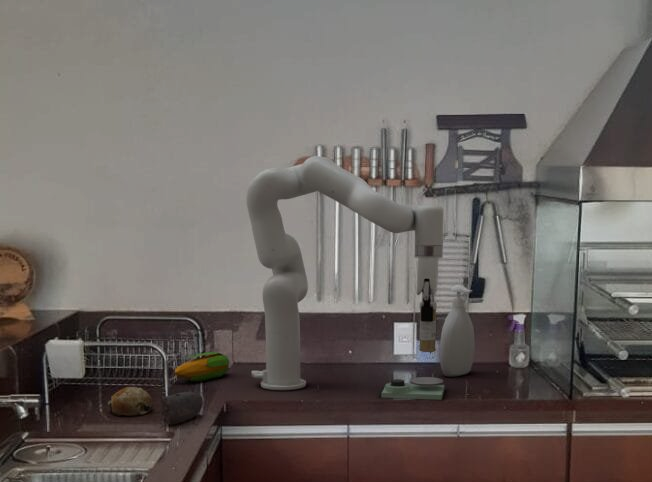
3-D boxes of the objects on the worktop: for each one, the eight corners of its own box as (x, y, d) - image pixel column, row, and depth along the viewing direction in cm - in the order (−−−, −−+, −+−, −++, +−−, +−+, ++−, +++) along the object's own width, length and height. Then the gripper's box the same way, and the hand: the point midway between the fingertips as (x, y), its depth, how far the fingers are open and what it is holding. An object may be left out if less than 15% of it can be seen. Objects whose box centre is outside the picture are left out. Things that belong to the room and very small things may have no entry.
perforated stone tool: (193, 412, 221) (193, 384, 220) (211, 414, 219) (210, 387, 218) (153, 426, 208) (152, 397, 207) (172, 429, 206) (171, 399, 205)
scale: (381, 398, 239) (381, 387, 238) (387, 388, 251) (387, 377, 250) (441, 400, 237) (441, 389, 236) (444, 390, 249) (444, 379, 248)
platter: (408, 385, 241) (408, 383, 240) (412, 378, 249) (412, 376, 249) (442, 386, 240) (442, 384, 239) (444, 379, 248) (444, 377, 248)
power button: (390, 387, 239) (390, 381, 239) (391, 384, 243) (391, 379, 243) (403, 387, 239) (403, 382, 239) (405, 385, 242) (405, 379, 242)
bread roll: (129, 432, 216) (139, 404, 214) (96, 410, 219) (107, 382, 217) (154, 422, 226) (164, 395, 223) (123, 401, 228) (133, 375, 226)
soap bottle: (453, 380, 261) (455, 288, 256) (432, 376, 267) (434, 285, 262) (484, 373, 272) (486, 284, 267) (463, 369, 277) (465, 282, 272)
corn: (235, 349, 265) (183, 359, 248) (237, 374, 266) (185, 386, 249) (217, 348, 269) (165, 358, 253) (219, 373, 270) (167, 385, 254)
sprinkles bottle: (428, 349, 246) (428, 300, 244) (439, 351, 243) (440, 302, 240) (415, 350, 243) (416, 301, 241) (426, 353, 240) (427, 303, 238)
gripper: (417, 249, 247) (416, 315, 250) (411, 253, 231) (410, 324, 234) (444, 250, 246) (443, 316, 249) (440, 254, 230) (439, 325, 233)
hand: (427, 319), depth 241 cm, fingers closed on sprinkles bottle, 4 cm apart
